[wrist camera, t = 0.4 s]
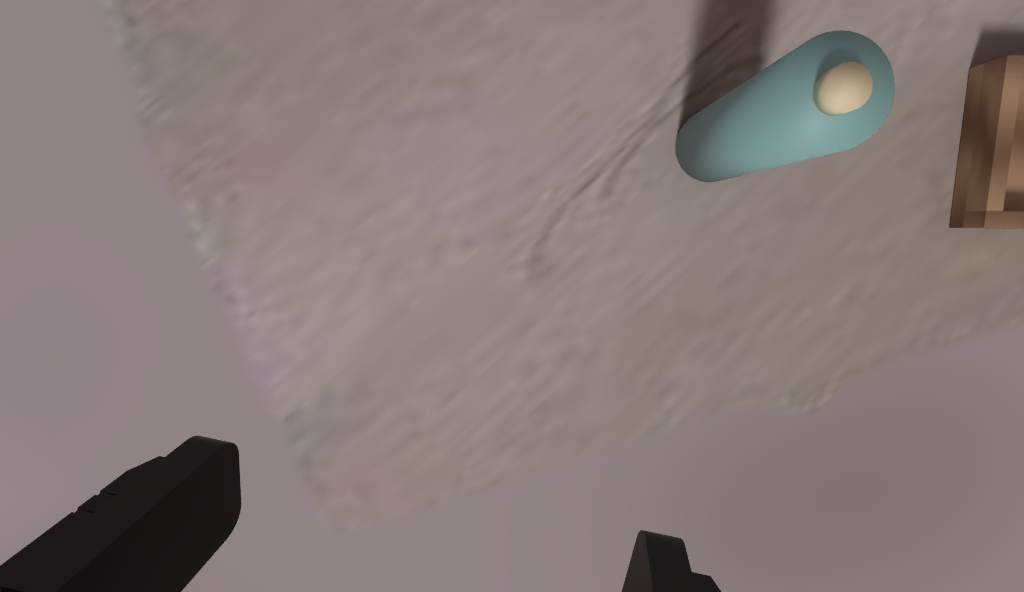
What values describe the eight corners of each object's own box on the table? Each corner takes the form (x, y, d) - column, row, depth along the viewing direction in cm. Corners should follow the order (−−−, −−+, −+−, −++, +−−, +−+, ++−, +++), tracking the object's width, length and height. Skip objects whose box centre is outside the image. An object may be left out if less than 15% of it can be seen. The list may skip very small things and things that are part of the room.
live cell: (677, 108, 33) (793, 21, 19) (749, 109, 33) (917, 23, 19) (673, 181, 33) (782, 148, 20) (743, 182, 33) (902, 149, 20)
